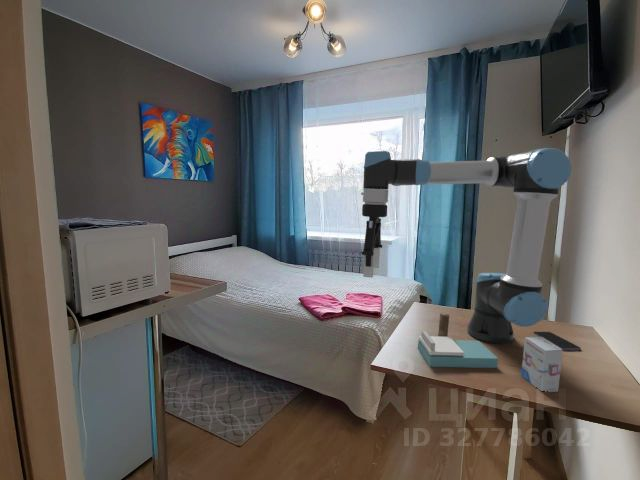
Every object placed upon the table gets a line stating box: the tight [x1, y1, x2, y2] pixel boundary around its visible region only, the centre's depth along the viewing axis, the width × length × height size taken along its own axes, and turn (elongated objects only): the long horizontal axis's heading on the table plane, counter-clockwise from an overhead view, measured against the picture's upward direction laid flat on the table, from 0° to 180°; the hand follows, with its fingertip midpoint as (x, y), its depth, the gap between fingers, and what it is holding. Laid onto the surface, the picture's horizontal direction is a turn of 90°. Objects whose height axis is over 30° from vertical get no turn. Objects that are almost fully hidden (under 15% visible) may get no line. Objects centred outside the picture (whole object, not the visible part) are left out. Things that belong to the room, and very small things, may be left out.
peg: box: [437, 312, 450, 337], centre depth 117 cm, size 3×3×10 cm
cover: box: [418, 330, 464, 356], centre depth 106 cm, size 10×11×3 cm
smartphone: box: [532, 331, 582, 352], centre depth 121 cm, size 7×1×15 cm
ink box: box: [520, 336, 564, 393], centre depth 92 cm, size 9×5×12 cm, turn 5°
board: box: [417, 338, 499, 369], centre depth 106 cm, size 20×12×3 cm, turn 91°
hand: (371, 272), depth 106 cm, fingers open, 13 cm apart
